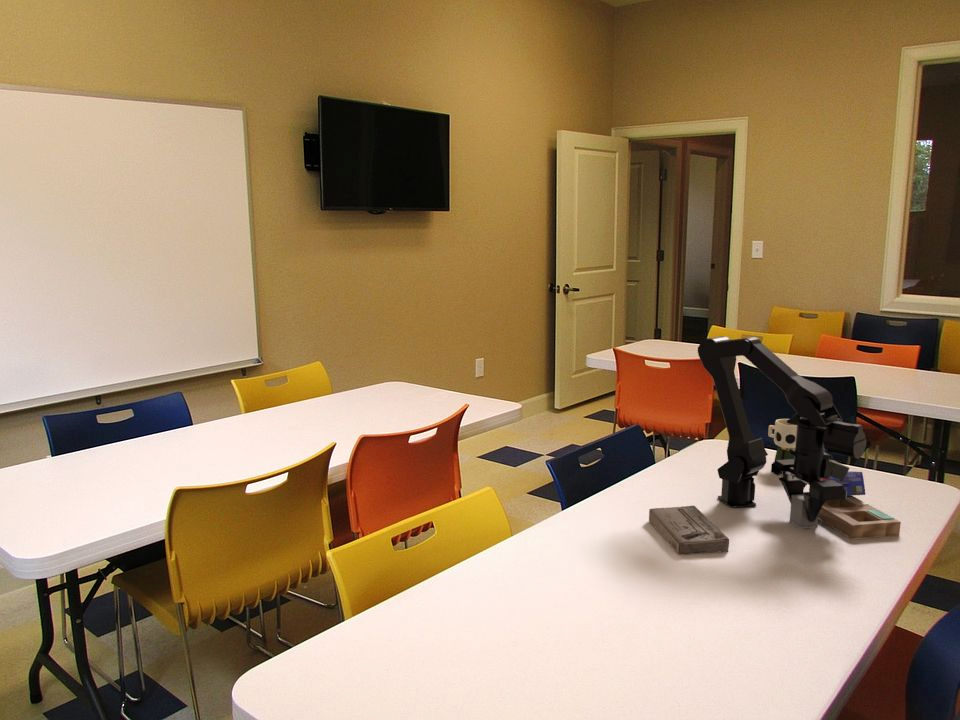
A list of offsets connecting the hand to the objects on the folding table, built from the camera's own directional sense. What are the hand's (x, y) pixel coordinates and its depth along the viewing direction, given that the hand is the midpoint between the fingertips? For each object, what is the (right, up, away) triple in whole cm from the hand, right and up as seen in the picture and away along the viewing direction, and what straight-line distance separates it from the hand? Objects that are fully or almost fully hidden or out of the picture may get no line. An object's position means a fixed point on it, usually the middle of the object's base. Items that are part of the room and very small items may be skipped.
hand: (803, 516), depth 160 cm
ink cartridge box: (+14, +5, +16) cm, 22 cm away
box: (-27, -3, -6) cm, 28 cm away
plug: (0, -2, 0) cm, 2 cm away
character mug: (+11, +5, +36) cm, 38 cm away
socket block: (+10, -1, +1) cm, 10 cm away
